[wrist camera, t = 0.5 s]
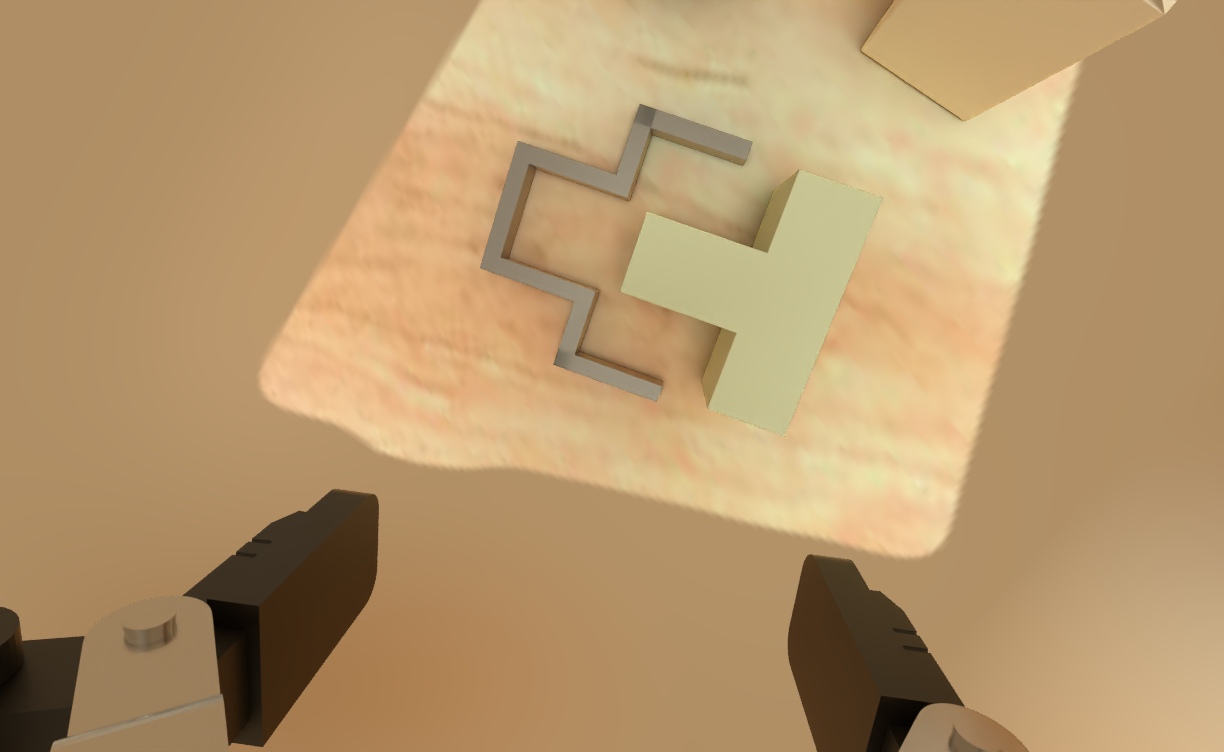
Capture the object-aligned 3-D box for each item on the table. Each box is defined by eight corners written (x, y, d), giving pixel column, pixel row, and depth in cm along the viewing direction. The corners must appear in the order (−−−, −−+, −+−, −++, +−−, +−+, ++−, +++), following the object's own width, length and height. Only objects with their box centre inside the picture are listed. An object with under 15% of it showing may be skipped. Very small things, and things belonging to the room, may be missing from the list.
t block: (676, 158, 37) (676, 127, 29) (838, 213, 37) (883, 197, 29) (610, 348, 39) (593, 368, 31) (762, 403, 39) (784, 436, 31)
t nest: (545, 79, 37) (539, 69, 35) (748, 148, 37) (752, 142, 35) (470, 328, 40) (460, 331, 38) (657, 396, 40) (656, 402, 38)
